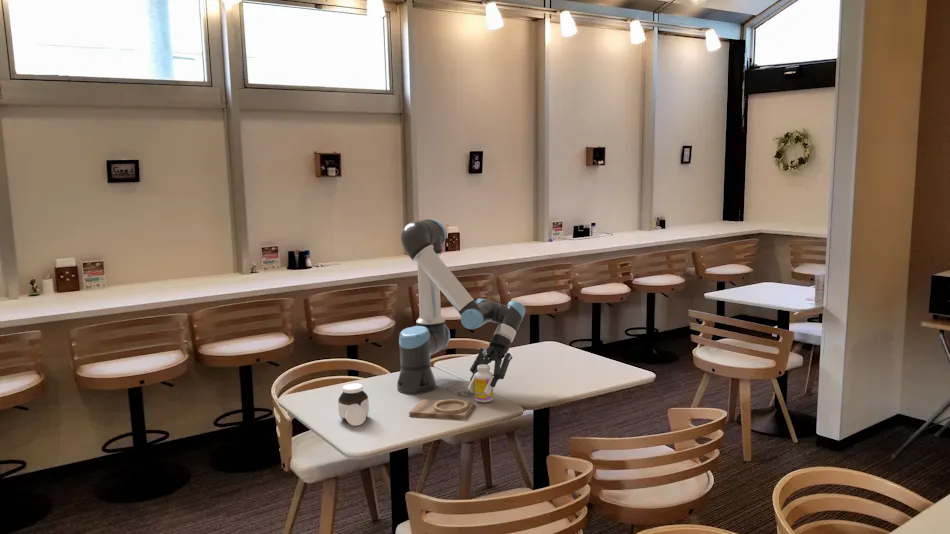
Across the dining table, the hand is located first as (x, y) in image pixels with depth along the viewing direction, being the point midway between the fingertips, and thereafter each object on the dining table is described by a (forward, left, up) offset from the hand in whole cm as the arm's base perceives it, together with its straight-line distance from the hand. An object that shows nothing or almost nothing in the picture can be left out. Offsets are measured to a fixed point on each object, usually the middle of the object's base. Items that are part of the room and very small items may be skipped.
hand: (478, 392), depth 264 cm
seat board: (-11, -10, -4) cm, 15 cm away
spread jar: (-38, -24, -5) cm, 45 cm away
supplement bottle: (+1, +3, -4) cm, 6 cm away
